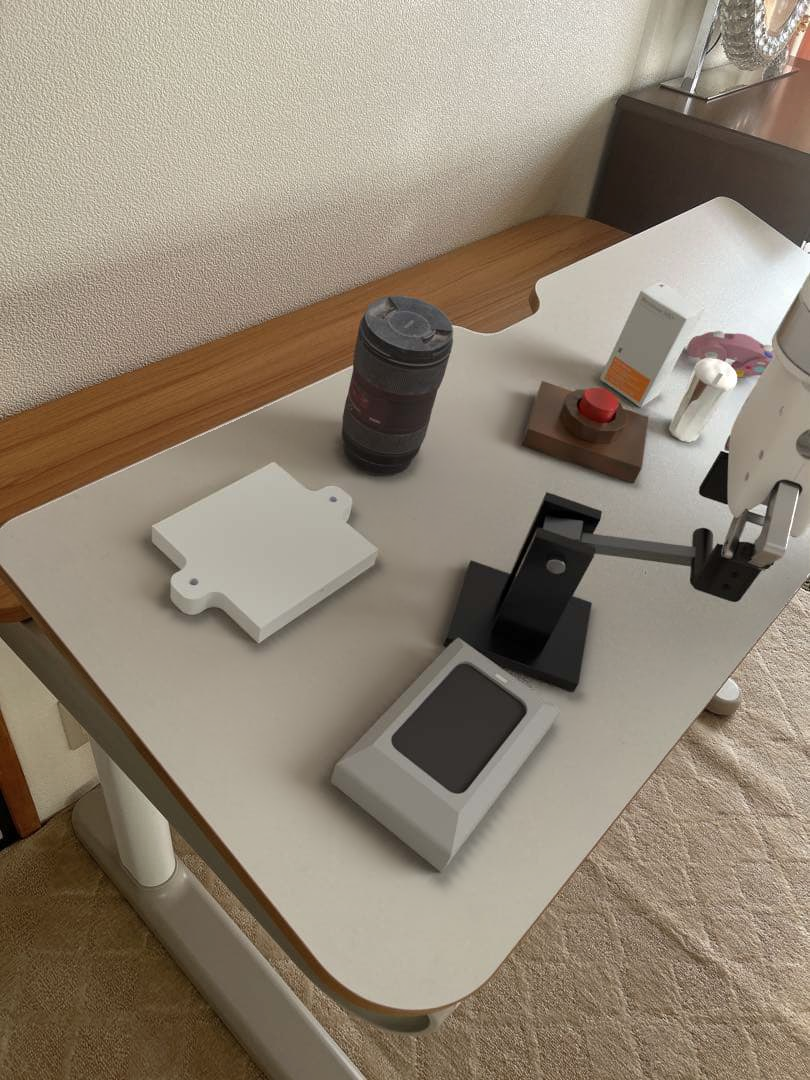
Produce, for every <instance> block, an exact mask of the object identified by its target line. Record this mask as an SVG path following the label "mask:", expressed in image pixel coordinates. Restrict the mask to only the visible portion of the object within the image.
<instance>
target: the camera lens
mask: <svg viewBox="0 0 810 1080" xmlns="http://www.w3.org/2000/svg"><path fill="white" fill-rule="evenodd" d="M453 335H454V327H453V324H452V322H451V320H450V319H449V317H448V316H447V314H446V313H444V312H443V311H442V310H441V309H440V308H438V307H436V306H435V305H433V304H432V303H430V302H428V301H425V300H422V299H419V298H416V297H412V296H408V295H389V296H382V297H379V298H378V299H376V300H373V301H372V302H371V303H370V304H369V305H368V306H367V307H366V309H365V311H364V315H363V316H362V317H361V319H360V322H359V326H358V330H357V336H356V341H355V342H356V343H355V346H354V351H353V363H352V373H351V377H350V383H349V387H348V392H347V396H346V398H345V403H344V408H343V412H342V413H343V414H342V425H341V426H342V427H341V437H342V440H343V451H344V455H345V456H346V458H347V460H348V461H349V462H350V463H351V464H352V465H353V466H354V467H356V468H358V469H359V470H361V471H363V472H365V473H368V474H372V475H376V476H382V477H383V476H385V477H386V476H387V477H388V476H395V475H398V474H400V473H401V474H402V473H403V472H404V471H406V470H408V468H409V467H410V466H411V464H412V462H413V459H414V458H415V457H416V456H418V454H419V452H420V451H421V447H422V444H423V443H424V440H425V438H426V435H427V432H428V428H429V425H430V421H431V417H432V416H431V415H432V411H433V408H434V404H435V402H436V397H437V394H438V390H439V388H440V387H441V386H442V385H441V384H442V383H443V379H444V377H445V373H446V370H447V366H448V362H449V360H450V356H451V354H452V349H453V345H454V338H453Z"/></svg>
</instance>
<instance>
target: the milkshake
mask: <svg viewBox="0 0 810 1080" xmlns="http://www.w3.org/2000/svg"><path fill="white" fill-rule="evenodd" d="M737 383H738V378H737V374H736V372H735V370H734V369H733V368H732V367H731V364H729V363H728V362H727V361H725V362H724V361H722V360H719V359H712V358H705V359H702V360H701V359H699V360H698V361H697V362H696V363H695V365H694V367H693V370H692V372H691V375H690V377H689V379H688V382H687V385H686V388H685V389H684V390H685V391H684V393H683V395H682V397H681V399H680V401H679V404H678V406H677V408H676V410H675V412H674V415H673V417H672V419H671V422H670V424H669V428H668V430H669V432H670V434H671V435H672V436H673V438H674V437H675V438H676V439H678V440H679V441H682V442H685V443H691V442H695V441H697V439H698V438H699V437H700V435H701V433H702V432H703V431H704V429H705V428H706V427H707V426H708V424H709V422H710V421H711V419H712V418H713V417H714V415H715V414H716V412H717V411H718V409H719V408H720V407H721V405H722V404H723V402H724V401H725V400H726V399H727V397H728V396H729V395H730V394H731V392H732V391H733V389H734V388H735V386H736V385H737Z"/></svg>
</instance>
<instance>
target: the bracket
mask: <svg viewBox="0 0 810 1080" xmlns="http://www.w3.org/2000/svg"><path fill="white" fill-rule="evenodd" d="M602 513H603V511H602V510H600V509H597V508H595V507H591V506H588V505H586V504H583V503H580V502H577V501H574V500H572V499H568V498H565V497H563V496H559V495H557V494H554V493H551V492H549V491H546V492H545V494H544V496H543V498H542V500H541V503H540V505H539V507H538V509H537V512H536V514H535V516H534V518H533V520H532V523H531V525H530V527H529V529H528V531H527V533H526V536H525V537H524V540H523V542H522V544H521V547H520V549H519V552H518V554H517V556H516V558H515V560H514V562H513V565H512V567H511V569H510V572H506V571H503V570H500V569H498V568H494V567H491V566H490V565H487V564H483V563H480V562H477V561H475V560H471V559H470V560H469V562H468V564H467V565H468V566H467V568H466V571H465V574H464V577H463V580H462V584H461V587H460V590H459V593H458V597H457V600H456V603H455V606H454V609H453V612H452V616H451V619H450V622H449V626H448V629H447V631H446V635H445V637H444V641H443V644H442V646H443V647H446V648H447V647H448V646H449V645H450V644H451V643H452V642H453V641H454V640H455V639H457V638H460V639H461V640H463V641H464V642H466V643H467V644H468V645H470V646H471V647H473V648H474V649H475V650H477V651H478V652H479V653H481V654H482V655H484V656H485V657H486V658H488V659H489V660H491V661H492V662H493V663H495V664H496V665H498V666H499V667H500V668H504V669H507V670H510V671H512V672H515V673H518V674H521V675H523V676H527V677H529V678H532V679H535V680H538V681H541V682H543V683H546V684H550V685H551V686H555V687H557V688H560V689H563V690H566V691H567V692H568V691H569V692H571V693H574V692H575V691H576V689H577V688H578V686H579V685H580V678H581V672H582V666H583V659H584V654H585V648H586V642H587V635H588V630H589V624H590V623H589V622H590V618H591V612H592V610H591V609H592V605H593V602H591V601H588V600H585V599H582V598H580V597H578V596H574V595H575V593H576V590H577V588H578V587H579V585H580V583H581V581H582V580H583V578H584V576H585V574H586V572H587V570H588V568H589V567H590V565H591V563H592V561H593V559H594V557H595V555H596V554H595V549H596V548H595V547H594V546H591V545H588V544H585V543H582V542H579V541H577V540H574V539H571V538H568V537H565V536H562V535H559V534H556V533H554V532H551V531H548V530H545V529H543V525H544V521H545V517H546V516H550V517H558V518H566V519H574V520H582V521H583V531H582V533H590V534H595V531H596V529H597V527H598V526H599V523H600V521H601V520H602Z"/></svg>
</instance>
